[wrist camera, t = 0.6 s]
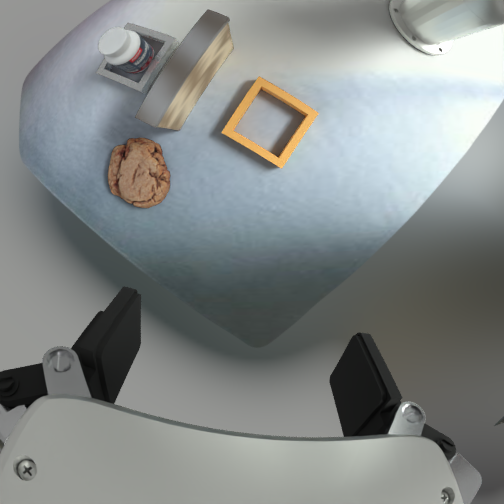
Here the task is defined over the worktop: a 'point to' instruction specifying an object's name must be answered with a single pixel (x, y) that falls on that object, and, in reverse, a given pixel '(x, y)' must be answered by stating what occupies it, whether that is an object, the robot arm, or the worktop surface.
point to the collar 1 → (154, 67)
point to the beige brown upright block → (188, 73)
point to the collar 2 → (285, 98)
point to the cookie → (139, 173)
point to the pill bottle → (126, 50)
